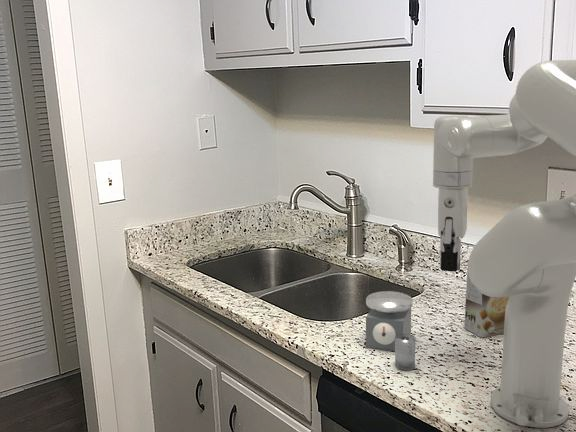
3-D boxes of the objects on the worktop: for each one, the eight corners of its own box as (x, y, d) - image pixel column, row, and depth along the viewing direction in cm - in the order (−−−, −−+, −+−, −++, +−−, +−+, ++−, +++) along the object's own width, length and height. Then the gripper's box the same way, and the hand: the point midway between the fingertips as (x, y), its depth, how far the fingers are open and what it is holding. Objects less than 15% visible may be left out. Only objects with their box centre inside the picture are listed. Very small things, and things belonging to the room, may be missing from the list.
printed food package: (481, 339, 132) (485, 269, 128) (463, 328, 138) (466, 261, 134) (515, 331, 135) (519, 263, 131) (495, 321, 141) (499, 255, 137)
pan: (408, 321, 125) (408, 310, 124) (361, 316, 128) (361, 305, 128) (415, 304, 134) (416, 293, 133) (371, 299, 137) (371, 289, 137)
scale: (402, 353, 126) (402, 322, 124) (364, 348, 129) (364, 318, 127) (410, 333, 136) (411, 304, 134) (375, 328, 139) (376, 300, 137)
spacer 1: (413, 372, 118) (413, 344, 117) (393, 369, 120) (392, 341, 118) (417, 363, 122) (417, 335, 120) (397, 360, 123) (397, 333, 122)
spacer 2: (459, 271, 120) (460, 242, 119) (438, 270, 122) (439, 241, 120) (460, 266, 124) (461, 237, 123) (441, 264, 125) (441, 236, 124)
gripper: (468, 186, 110) (465, 281, 114) (475, 173, 125) (472, 257, 129) (427, 185, 113) (425, 278, 116) (438, 172, 128) (436, 254, 132)
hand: (450, 266), depth 123 cm, fingers closed on spacer 2, 4 cm apart
